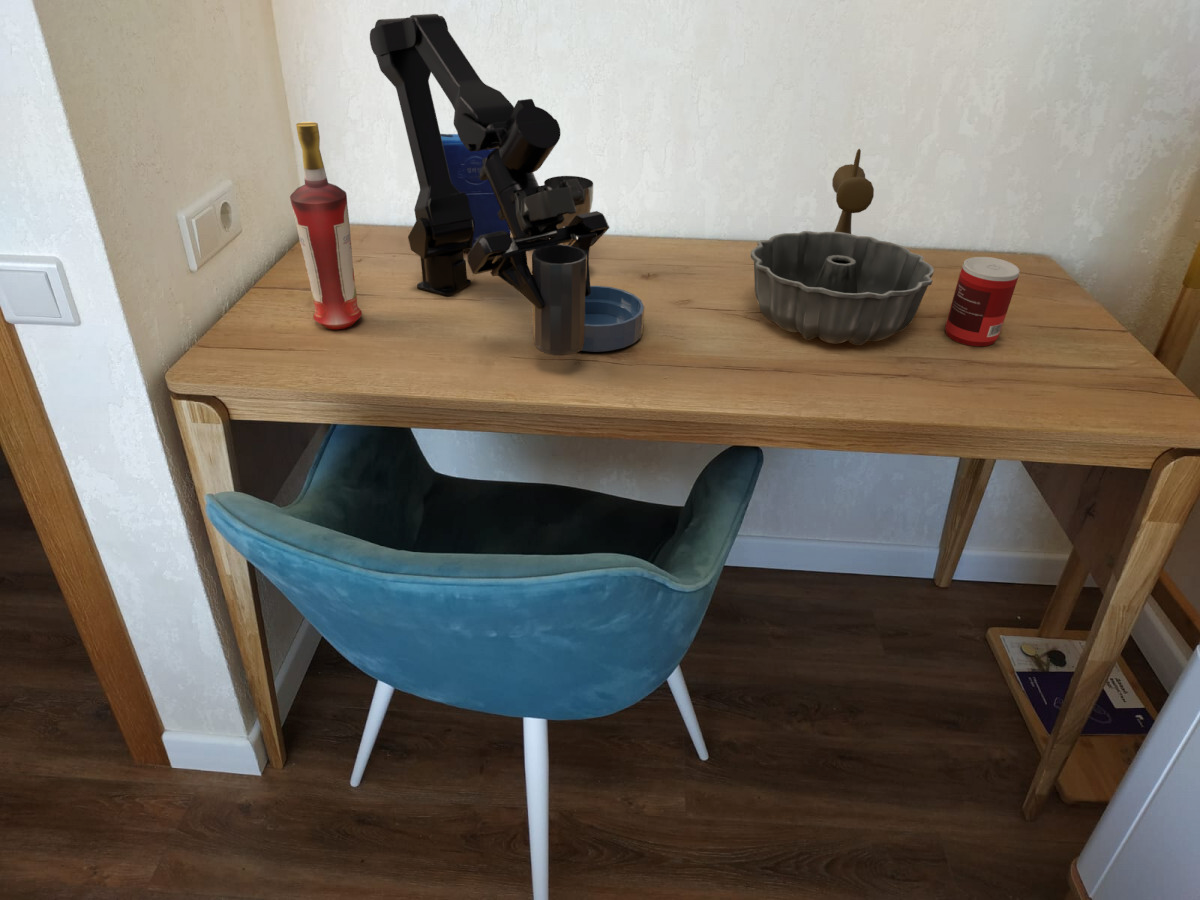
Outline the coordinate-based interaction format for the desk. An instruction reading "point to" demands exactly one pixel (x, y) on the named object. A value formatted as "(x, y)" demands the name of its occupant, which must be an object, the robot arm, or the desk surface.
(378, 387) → the desk surface
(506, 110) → the robot arm
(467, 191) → the blue box
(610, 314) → the bowl
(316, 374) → the desk surface
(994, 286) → the canned food
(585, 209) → the wine glass
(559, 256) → the cup
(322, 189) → the liquor
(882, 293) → the bundt pan
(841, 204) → the kendama
